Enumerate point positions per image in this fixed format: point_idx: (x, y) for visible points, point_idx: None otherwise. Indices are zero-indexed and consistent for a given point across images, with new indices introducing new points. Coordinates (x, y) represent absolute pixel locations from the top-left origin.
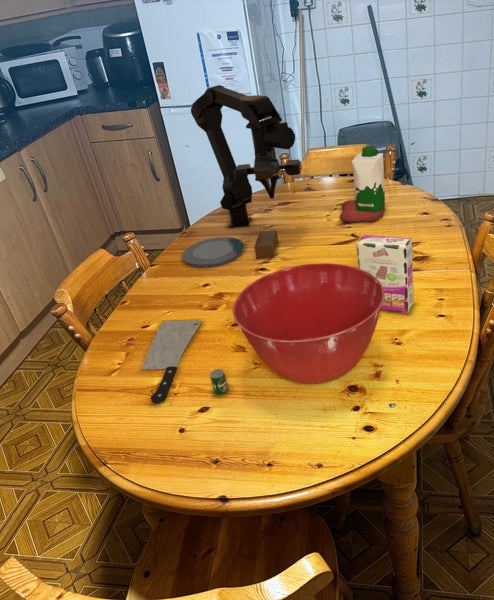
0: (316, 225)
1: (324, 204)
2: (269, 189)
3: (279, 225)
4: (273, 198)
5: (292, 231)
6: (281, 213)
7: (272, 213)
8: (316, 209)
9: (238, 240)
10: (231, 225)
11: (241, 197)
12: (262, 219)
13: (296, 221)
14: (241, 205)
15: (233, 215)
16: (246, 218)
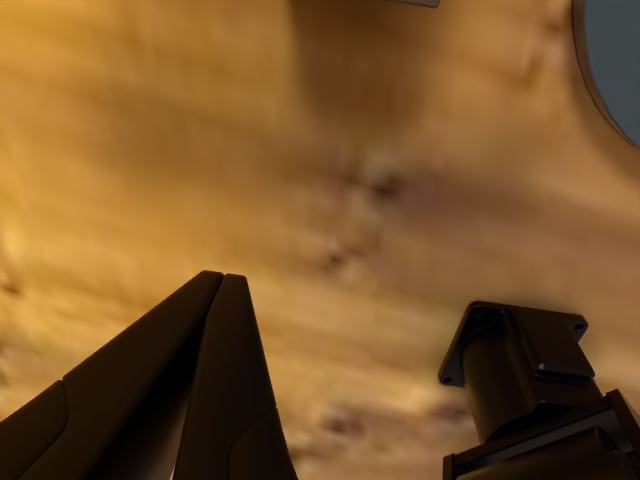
0: (44, 186)
1: None
2: (191, 387)
3: (284, 258)
4: (203, 272)
5: (192, 147)
6: (278, 382)
7: (324, 394)
8: None
9: (604, 69)
10: (569, 327)
11: (555, 478)
12: (380, 353)
13: (185, 276)
14: (523, 432)
15: (581, 365)
16: (478, 353)
